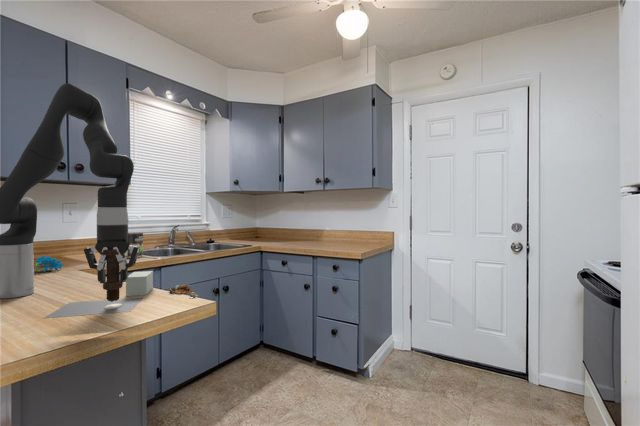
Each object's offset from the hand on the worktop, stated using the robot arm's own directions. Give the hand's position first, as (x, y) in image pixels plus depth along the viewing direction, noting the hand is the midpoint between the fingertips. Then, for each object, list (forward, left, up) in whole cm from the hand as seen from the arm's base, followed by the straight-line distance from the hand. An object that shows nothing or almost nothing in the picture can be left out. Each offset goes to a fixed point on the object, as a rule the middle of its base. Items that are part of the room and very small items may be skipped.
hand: (113, 282), depth 91 cm
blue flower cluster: (-49, +71, -8) cm, 86 cm away
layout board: (-4, +1, -8) cm, 9 cm away
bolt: (0, 0, -6) cm, 6 cm away
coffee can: (-24, +108, -8) cm, 111 cm away
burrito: (+18, +12, -9) cm, 23 cm away
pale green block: (+3, +16, -8) cm, 18 cm away
